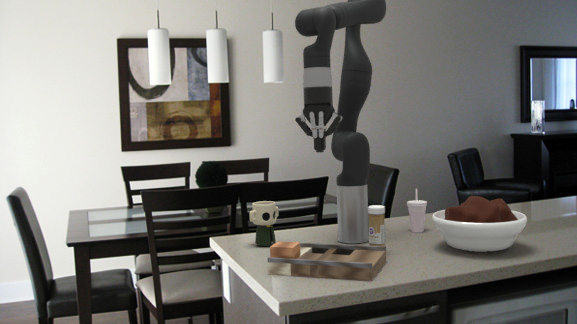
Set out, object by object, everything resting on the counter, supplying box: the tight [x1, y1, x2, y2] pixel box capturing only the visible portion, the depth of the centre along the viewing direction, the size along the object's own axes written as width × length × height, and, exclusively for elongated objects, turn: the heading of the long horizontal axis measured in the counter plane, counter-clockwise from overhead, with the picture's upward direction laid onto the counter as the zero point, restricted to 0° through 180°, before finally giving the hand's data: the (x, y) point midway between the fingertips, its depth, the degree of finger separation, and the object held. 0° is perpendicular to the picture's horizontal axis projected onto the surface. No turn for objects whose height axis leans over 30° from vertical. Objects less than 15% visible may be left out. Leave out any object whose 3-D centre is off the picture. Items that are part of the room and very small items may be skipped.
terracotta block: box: [269, 241, 301, 259], centre depth 146 cm, size 6×6×4 cm
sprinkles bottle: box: [368, 204, 386, 246], centre depth 157 cm, size 5×5×14 cm
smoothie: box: [406, 188, 428, 234], centre depth 185 cm, size 6×6×14 cm
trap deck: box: [267, 242, 387, 282], centre depth 146 cm, size 26×18×4 cm
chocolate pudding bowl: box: [431, 195, 528, 253], centre depth 160 cm, size 25×25×15 cm
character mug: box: [249, 200, 279, 247], centre depth 174 cm, size 11×7×13 cm, turn 131°
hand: (319, 152), depth 152 cm, fingers closed
